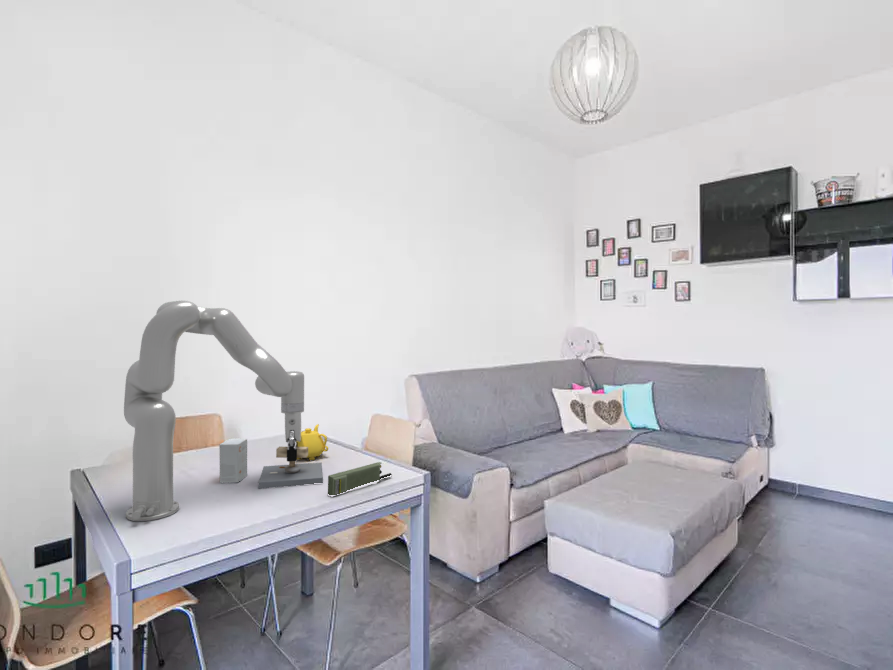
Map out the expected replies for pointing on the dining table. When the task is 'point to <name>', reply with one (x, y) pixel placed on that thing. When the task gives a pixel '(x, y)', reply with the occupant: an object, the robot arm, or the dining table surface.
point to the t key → (292, 467)
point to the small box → (233, 460)
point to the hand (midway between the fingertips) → (292, 457)
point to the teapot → (313, 442)
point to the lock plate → (290, 475)
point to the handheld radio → (354, 478)
